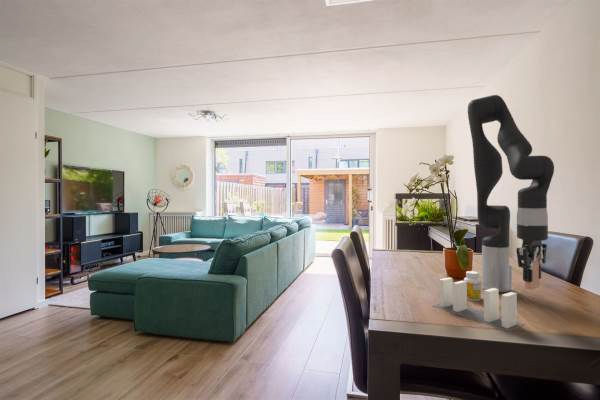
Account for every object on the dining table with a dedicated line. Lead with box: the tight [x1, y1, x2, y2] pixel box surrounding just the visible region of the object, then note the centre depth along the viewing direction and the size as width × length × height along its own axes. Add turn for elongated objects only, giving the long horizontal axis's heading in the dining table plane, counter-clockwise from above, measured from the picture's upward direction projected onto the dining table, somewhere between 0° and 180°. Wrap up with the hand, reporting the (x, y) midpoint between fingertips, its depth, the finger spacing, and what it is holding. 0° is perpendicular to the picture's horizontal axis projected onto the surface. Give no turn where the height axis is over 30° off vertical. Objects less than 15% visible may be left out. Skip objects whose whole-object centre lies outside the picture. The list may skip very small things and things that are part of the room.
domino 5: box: [524, 257, 540, 291], centre depth 96 cm, size 2×5×9 cm, turn 122°
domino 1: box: [438, 276, 454, 307], centre depth 109 cm, size 2×5×9 cm, turn 121°
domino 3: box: [483, 288, 500, 322], centre depth 96 cm, size 2×5×9 cm, turn 121°
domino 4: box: [501, 291, 518, 328], centre depth 92 cm, size 2×5×9 cm, turn 121°
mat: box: [432, 303, 526, 332], centre depth 101 cm, size 24×9×1 cm, turn 31°
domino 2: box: [453, 280, 468, 312], centre depth 105 cm, size 2×5×9 cm, turn 121°
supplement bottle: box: [463, 270, 482, 301], centre depth 116 cm, size 5×5×10 cm
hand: (532, 279), depth 96 cm, fingers closed on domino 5, 5 cm apart
